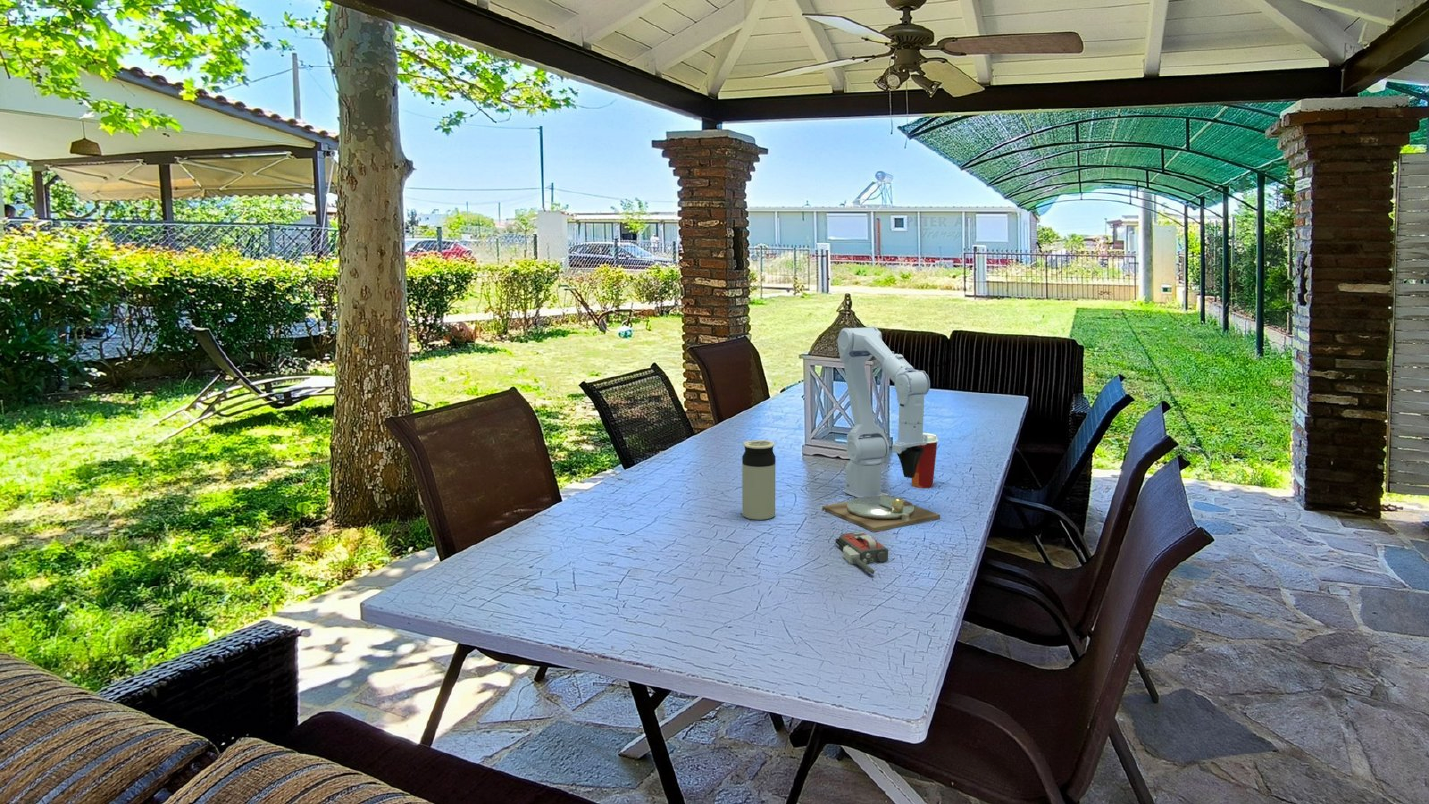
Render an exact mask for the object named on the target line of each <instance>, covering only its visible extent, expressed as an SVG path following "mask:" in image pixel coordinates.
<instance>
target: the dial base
mask: <svg viewBox="0 0 1429 804" xmlns="http://www.w3.org/2000/svg"><path fill="white" fill-rule="evenodd" d="M882 496H885V497H891V495H888V496H887V495H882ZM847 503H848V501H843V502H838V503H833V504H827V505H823V506H822V507H821V510H822V511H823V510H825V511H824V512H826V511H827V512H826V513H828V512H829V514H831V515H833V516H835V517H837V518H840V519H843V520H844V521H847V522H849V523H851V524H854V525H857V526H859V527H862V528H864V529H866V530H868V531H870V532H873V533H876V532H877V533H878V532H881V531H886V530H893V529H896V528H902V527H907V526H911V525H912V526H913V525H915V524H921V523H926V521H927V522H931V521H930V520H932V521H936V520H940V519H941V514H940V513H936V512H933V511H931V510H928V509H925V508H923V507H920V506H917V505H914V504H913V505H914V513H913V514H911V515H910V516H909V515H908V514H906V513H904V514H902V518H897V519H874V518H866V517H862V516H858V515H855V514H853V513H851V512H849V511H848V510H847ZM935 519H936V520H935Z"/></svg>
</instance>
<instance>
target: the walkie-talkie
mask: <svg viewBox="0 0 1429 804" xmlns="http://www.w3.org/2000/svg"><path fill="white" fill-rule="evenodd" d="M834 542H835V544H837V545H838V548H839V549H841V550H842V558H843V559H844V560H845V561H847V562H848V564H849V565H854V564H855V565H858V566H859V567H861V568H862V569H863V570H865V571H867V572H868V573H869V574H871V575H874V574H875V570H874V569H873V568H871V567H870V566H869V565H867V564H870V563H879V562H881V563H882V562H886V561H889V549H888V547H886V546H884V545H883V544H881V543H880V542H878V541H877V539H875V538H874V537H872V536H871V535H870V534H867V533H864V532H863V531H856V532H854V531H853V532H848V533H847V532H845V533H841V534H840V535H839V537H838V538H835V540H834Z"/></svg>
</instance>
